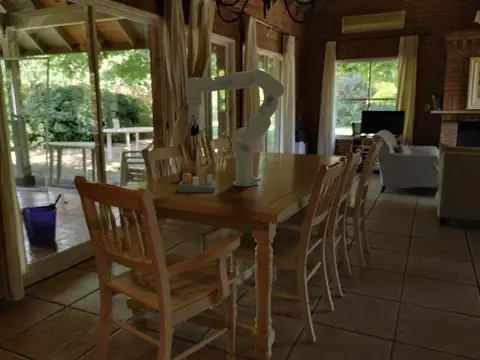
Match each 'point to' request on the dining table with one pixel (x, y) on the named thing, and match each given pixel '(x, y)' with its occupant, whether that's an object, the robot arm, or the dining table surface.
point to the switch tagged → (209, 179)
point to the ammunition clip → (188, 169)
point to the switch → (195, 181)
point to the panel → (197, 187)
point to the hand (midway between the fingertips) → (195, 135)
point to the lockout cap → (186, 178)
